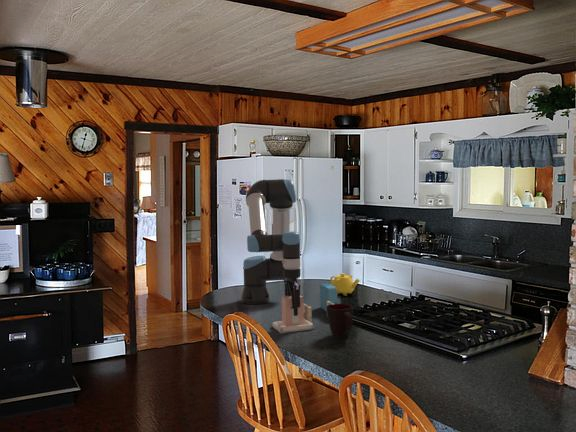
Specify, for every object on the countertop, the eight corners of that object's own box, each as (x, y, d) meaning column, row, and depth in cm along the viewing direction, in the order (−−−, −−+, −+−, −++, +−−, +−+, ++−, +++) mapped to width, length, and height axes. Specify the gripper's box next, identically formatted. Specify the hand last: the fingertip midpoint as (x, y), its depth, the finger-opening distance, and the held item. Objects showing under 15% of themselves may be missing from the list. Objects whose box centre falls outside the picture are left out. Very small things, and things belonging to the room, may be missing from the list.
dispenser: (302, 318, 262) (302, 303, 261) (328, 315, 266) (328, 301, 266) (309, 323, 254) (309, 307, 254) (336, 319, 259) (335, 304, 258)
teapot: (360, 295, 307) (360, 275, 306) (336, 297, 304) (335, 276, 303) (351, 290, 321) (351, 270, 320) (328, 291, 318) (327, 271, 317)
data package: (337, 312, 272) (337, 287, 271) (328, 313, 271) (328, 288, 270) (328, 306, 284) (328, 282, 283) (320, 307, 282) (319, 283, 281)
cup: (345, 330, 242) (344, 302, 241) (361, 339, 229) (361, 310, 228) (323, 333, 238) (323, 305, 237) (339, 342, 225) (338, 312, 224)
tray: (272, 326, 250) (272, 322, 250) (304, 322, 255) (304, 318, 255) (280, 333, 240) (280, 328, 240) (313, 329, 245) (313, 324, 245)
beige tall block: (282, 323, 248) (281, 296, 247) (299, 321, 251) (298, 294, 250) (286, 326, 244) (285, 298, 243) (303, 324, 246) (303, 296, 245)
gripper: (276, 265, 252) (277, 317, 254) (290, 272, 236) (292, 327, 237) (292, 264, 255) (293, 315, 257) (307, 270, 238) (308, 325, 240)
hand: (292, 321), depth 247 cm, fingers closed on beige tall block, 5 cm apart
